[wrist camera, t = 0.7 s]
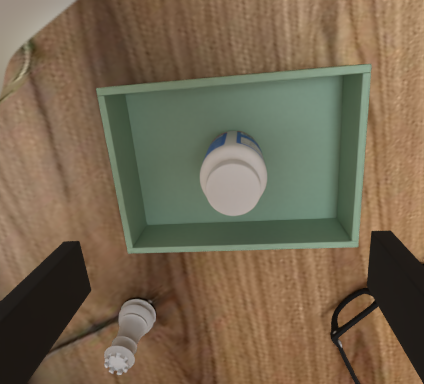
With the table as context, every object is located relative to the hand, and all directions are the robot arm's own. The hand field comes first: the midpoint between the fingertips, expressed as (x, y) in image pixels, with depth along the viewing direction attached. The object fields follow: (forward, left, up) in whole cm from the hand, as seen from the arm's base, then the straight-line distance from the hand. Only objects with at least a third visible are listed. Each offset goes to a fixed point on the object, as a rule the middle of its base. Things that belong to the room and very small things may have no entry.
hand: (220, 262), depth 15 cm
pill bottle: (0, 0, -19) cm, 19 cm away
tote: (0, 0, -19) cm, 19 cm away
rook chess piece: (+19, -13, -20) cm, 30 cm away
